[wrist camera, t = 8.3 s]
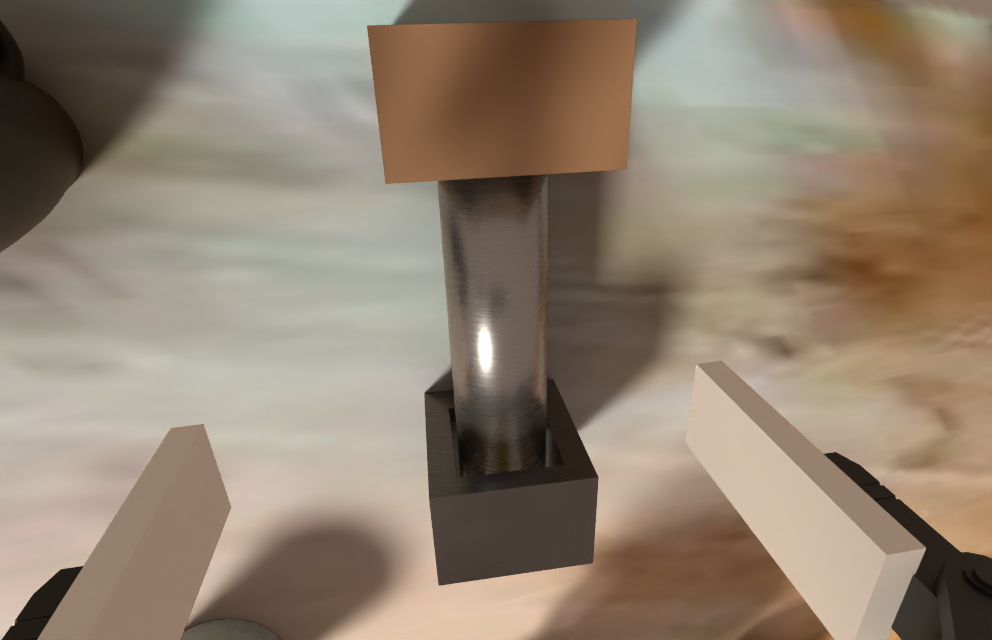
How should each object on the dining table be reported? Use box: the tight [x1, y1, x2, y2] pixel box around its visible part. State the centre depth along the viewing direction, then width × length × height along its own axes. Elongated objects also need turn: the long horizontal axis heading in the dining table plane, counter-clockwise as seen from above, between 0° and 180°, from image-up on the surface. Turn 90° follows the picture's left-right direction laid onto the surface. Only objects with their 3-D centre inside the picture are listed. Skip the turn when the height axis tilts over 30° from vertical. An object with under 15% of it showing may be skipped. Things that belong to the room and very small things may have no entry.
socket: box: [367, 19, 637, 184], centre depth 23 cm, size 9×5×10 cm, turn 91°
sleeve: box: [424, 380, 598, 585], centre depth 32 cm, size 8×6×9 cm
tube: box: [438, 174, 549, 478], centre depth 27 cm, size 20×5×5 cm, turn 2°
